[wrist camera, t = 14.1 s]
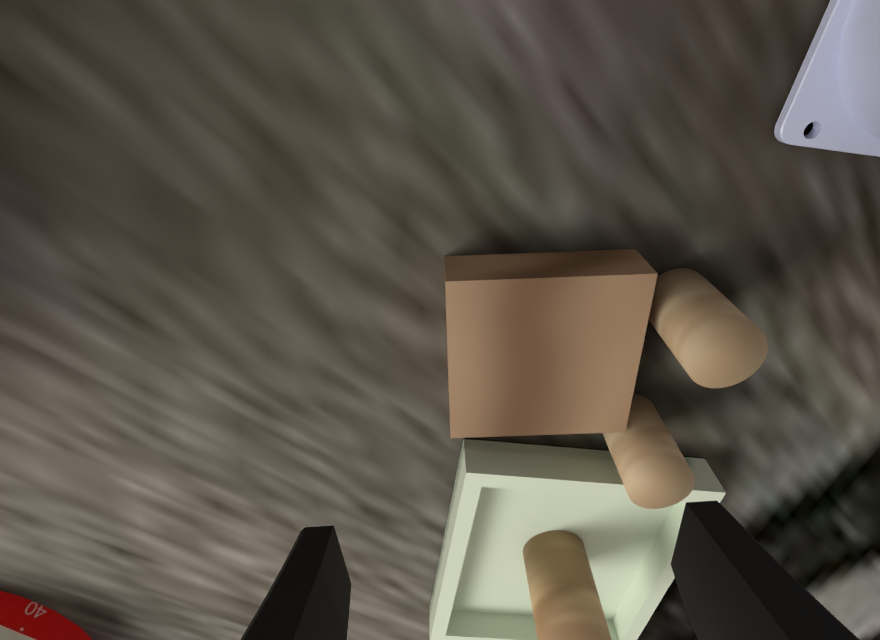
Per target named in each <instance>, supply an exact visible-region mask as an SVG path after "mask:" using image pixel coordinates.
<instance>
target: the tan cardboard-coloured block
mask: <svg viewBox="0 0 880 640" xmlns="http://www.w3.org/2000/svg"><path fill="white" fill-rule="evenodd" d="M444 263H445V293H446V322H447V352H448V382H449V410H450V433H451V438H470V437H499V436H528V435H557V434H586V433H614V432H625V431H626V427H627V422H628V417H629V412H630V407H631V402H632V397H633V392H634V387H635V383H636V378H637V373H638V368H639V363H640V358H641V353H642V348H643V343H644V338H645V334H646V329H647V324H648V319H649V314H650V309H651V304H652V299H653V294H654V290H655V285H656V280H657V275H658V273H657V272H656V271H655V270H654V269H653V268H652V267H651V266H650V264H649V263H648V262H647V261H646V260H645V259H644V258H643V257H642V256H641V254H640V253H639V252H638V251H637V250H636V249H619V250H593V251H568V252H542V253H516V254H490V255H464V256H444Z"/></svg>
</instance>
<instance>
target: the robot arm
mask: <svg viewBox="0 0 880 640" xmlns="http://www.w3.org/2000/svg"><path fill="white" fill-rule="evenodd" d="M811 122H812V123H813V128H812V130H811V131H810V133H809V134H807V135H806V136H804V134H803V133H804V129H805V128H806V126H807V125H808V124H810V123H811ZM774 133H775V137H776V138H777V140H778V141H780V142H783V143H786V144H789V145H796V146H804V147H811V148H819V149H826V150H833V151H841V152H848V153H856V154H863V155H871V156H878V157H880V0H830V2H829V4H828V7H827V9H826V11H825V14H824V16H823V18H822V20H821V23H820V25H819V27H818V29H817V32H816V34H815V36H814V39H813V41H812V43H811V45H810V48H809V50H808V52H807V54H806V57H805V59H804V61H803V64H802V66H801V68H800V70H799V73H798V75H797V77H796V79H795V82H794V84H793V86H792V89H791V91H790V93H789V95H788V98H787V100H786V102H785V104H784V107H783V109H782V111H781V114H780V116H779V118H778V120H777V123H776V125H775V129H774ZM671 567H672V570H673V573H674V576H675V579H676V582H677V585H678V589H679V592H680V595H681V598H682V600H683V603H684V606H685V609H686V612H687V615H688V618H689V620H690V622H691V625H692V627H693V629H694V631H695V634H696V636H697V638H698V640H859V639H858V638H857V637H856V636H855V635H854V634H853V633H851V632H850V631H849V630H848V629H847V628H846V627H845V626H844V625H843V624H842V623H841V622H840V621H838V620H837V619H836V618H835V617H834V616H833V615H832V614H831V613H830V612H829V611H828V610H827V609H826V608H825V607H824V606H823V605H822V604H820V603H819V602H818V601H817V600H816V599H815V598H814V597H813V596H812V595H811V594H810V593H809V592H808V591H807V590H806V589H805V588H804V587H803V586H802V585H801V584H800V583H798V582H797V581H796V580H795V579H794V578H793V577H792V576H791V575H790V574H789V573H788V572H787V571H786V570H785V569H784V568H783V567H782V566H781V565H780V564H779V563H778V562H777V561H776V560H775V559H774V558H773V557H772V556H771V555H770V554H769V553H768V552H767V551H766V550H765V549H764V548H763V547H762V546H761V545H760V544H759V543H758V542H757V541H756V540H755V539H754V538H753V537H752V536H751V535H750V534H749V532H748V531H747V530H746V529H745V528H744V527H743V526H742V525H741V524H740V523H739V522H738V521H737V520H736V519H735V518H734V517H733V516H732V515H731V514H730V513H729V512H728V511H727V510H726V509H725V508H724V507H723V506H722V505H721V504H720V503H719V502H718V501H717V500H716V501H701V502H686V504H685V508H684V512H683V516H682V520H681V524H680V528H679V532H678V536H677V541H676V545H675V549H674V553H673V557H672V561H671ZM350 592H351V582H350V578H349V575H348V572H347V568H346V565H345V562H344V558H343V555H342V552H341V548H340V545H339V542H338V538H337V535H336V532H335V528H334V526H321V527H306V528H304V529H303V530H302V531H301V532H300V534H299V536H298V538H297V540H296V542H295V544H294V546H293V548H292V550H291V551H290V553H289V555H288V557H287V559H286V561H285V563H284V565H283V567H282V569H281V570H280V572H279V574H278V576H277V578H276V580H275V581H274V583H273V585H272V587H271V589H270V590H269V592H268V594H267V596H266V597H265V599H264V601H263V603H262V604H261V606H260V608H259V609H258V611H257V613H256V615H255V616H254V618H253V620H252V621H251V623H250V625H249V626H248V628H247V630H246V631H245V633H244V635H243V636H242V638H241V640H346V639H347V629H348V618H349V606H350Z"/></svg>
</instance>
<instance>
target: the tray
mask: <svg viewBox="0 0 880 640" xmlns="http://www.w3.org/2000/svg"><path fill="white" fill-rule="evenodd" d="M684 458H685V460H686V462H687V464H688V465H689V467H690V469H691V471H692V472H693V474H694V476H695V485H694V488H693V490H692V491H691V493H690V494H689V495H688V496H687V497H686V498H685V499H683V500H682V501H680V502H679V503H677V504H674V505H672V506H669V507H665V508H660V509H647V508H642V507H640V506H637V505H636V504H634V503H633V502H632V501H631V500H630V498H629V496H628V494H627V491H626V489H625V486H624V484H623V482H622V479H621V477H620V474H619V472H618V470H617V467H616V465H615V462H614V460H613V458H612V455H611V453H610V451H604V450H592V449H580V448H568V447H556V446H544V445H532V444H520V443H508V442H496V441H484V440H471V439H463V444H462V449H461V454H460V459H459V464H458V469H457V474H456V479H455V484H454V489H453V494H452V498H451V503H450V508H449V513H448V518H447V523H446V528H445V533H444V538H443V543H442V548H441V553H440V558H439V563H438V568H437V573H436V578H435V583H434V588H433V593H432V597H431V602H430V638H429V640H538V639H537V634H536V628H535V622H534V616H533V610H532V604H531V599H530V593H529V587H528V581H527V575H526V569H525V564H524V558H523V548H524V545H525V544H526V542H527V541H528V540H529V539H531V538H532V537H534V536H535V535H537V534H540V533H543V532H546V531H553V530H562V531H568V532H571V533H574V534H576V535H577V536H579V537H580V538H581V540H582V541H583V543H584V547H585V550H586V554H587V557H588V561H589V564H590V567H591V571H592V574H593V578H594V581H595V585H596V588H597V591H598V595H599V598H600V602H601V605H602V609H603V612H604V616H605V619H606V622H607V626H608V629H609V633H610V636H611V640H637V639H638V637H639V636H640V634H641V632H642V631H643V629H644V627H645V626H646V624H647V622H648V621H649V619H650V617H651V616H652V614H653V612H654V611H655V609H656V607H657V606H658V604H659V603H660V601H661V599H662V598H663V596H664V594H665V593H666V591H667V589H668V588H669V586H670V584H671V583H672V581H673V579H674V578H675V576H674V573H673V570H672V567H671V561H672V557H673V553H674V549H675V545H676V541H677V536H678V532H679V528H680V524H681V520H682V516H683V512H684V508H685V504H686V502H701V501H716V500H717V501H718V502H719V503H720V502H721V500H722V499H723V497H724V495H725V494H726V492H725V490H724V489H723V487H722V485H721V484H720V482H719V481H718V479H717V477H716V476H715V474H714V473H713V471H712V469H711V468H710V466H709V465H708V463H707V461H706V460H705V459H701V458H689V457H684Z"/></svg>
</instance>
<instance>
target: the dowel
mask: <svg viewBox="0 0 880 640" xmlns="http://www.w3.org/2000/svg"><path fill="white" fill-rule="evenodd" d="M523 558H524V564H525V569H526V575H527V581H528V587H529V593H530V599H531V604H532V610H533V616H534V622H535V628H536V634H537V639H538V640H611V636H610V633H609V629H608V626H607V622H606V619H605V616H604V612H603V609H602V605H601V602H600V598H599V595H598V591H597V588H596V585H595V581H594V578H593V574H592V571H591V567H590V564H589V561H588V557H587V554H586V550H585V547H584V543H583V541H582V540H581V538H580V537H579V536H577V535H576V534H574V533H571V532H568V531H562V530H553V531H546V532H543V533H540V534H537V535H535V536H534V537H532V538H531V539H529V540H528V541H527V542H526V544H525V545H524V548H523Z"/></svg>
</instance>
